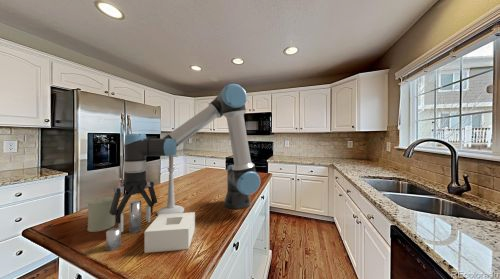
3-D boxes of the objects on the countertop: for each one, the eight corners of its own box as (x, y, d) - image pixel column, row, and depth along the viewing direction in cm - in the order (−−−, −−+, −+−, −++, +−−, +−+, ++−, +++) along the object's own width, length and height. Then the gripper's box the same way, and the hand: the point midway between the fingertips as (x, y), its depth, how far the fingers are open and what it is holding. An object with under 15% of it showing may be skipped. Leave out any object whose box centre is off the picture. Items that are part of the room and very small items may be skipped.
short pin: (123, 243, 64) (123, 226, 64) (116, 250, 60) (116, 232, 60) (110, 244, 64) (110, 227, 64) (103, 251, 60) (103, 233, 60)
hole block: (194, 228, 75) (194, 212, 75) (188, 249, 61) (188, 228, 61) (159, 231, 73) (159, 214, 73) (144, 252, 59) (144, 231, 59)
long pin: (142, 228, 75) (142, 199, 75) (138, 232, 71) (138, 203, 72) (132, 228, 75) (132, 200, 75) (127, 233, 71) (127, 203, 71)
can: (92, 234, 70) (92, 204, 70) (83, 228, 75) (84, 199, 75) (119, 224, 78) (119, 197, 78) (110, 219, 83) (110, 194, 83)
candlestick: (183, 215, 88) (184, 154, 88) (155, 218, 84) (155, 155, 84) (184, 206, 100) (184, 153, 101) (159, 209, 96) (159, 153, 96)
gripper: (157, 167, 84) (157, 214, 84) (98, 174, 67) (98, 234, 67) (166, 168, 80) (166, 218, 80) (104, 176, 62) (104, 241, 62)
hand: (135, 225), depth 73 cm, fingers open, 9 cm apart
